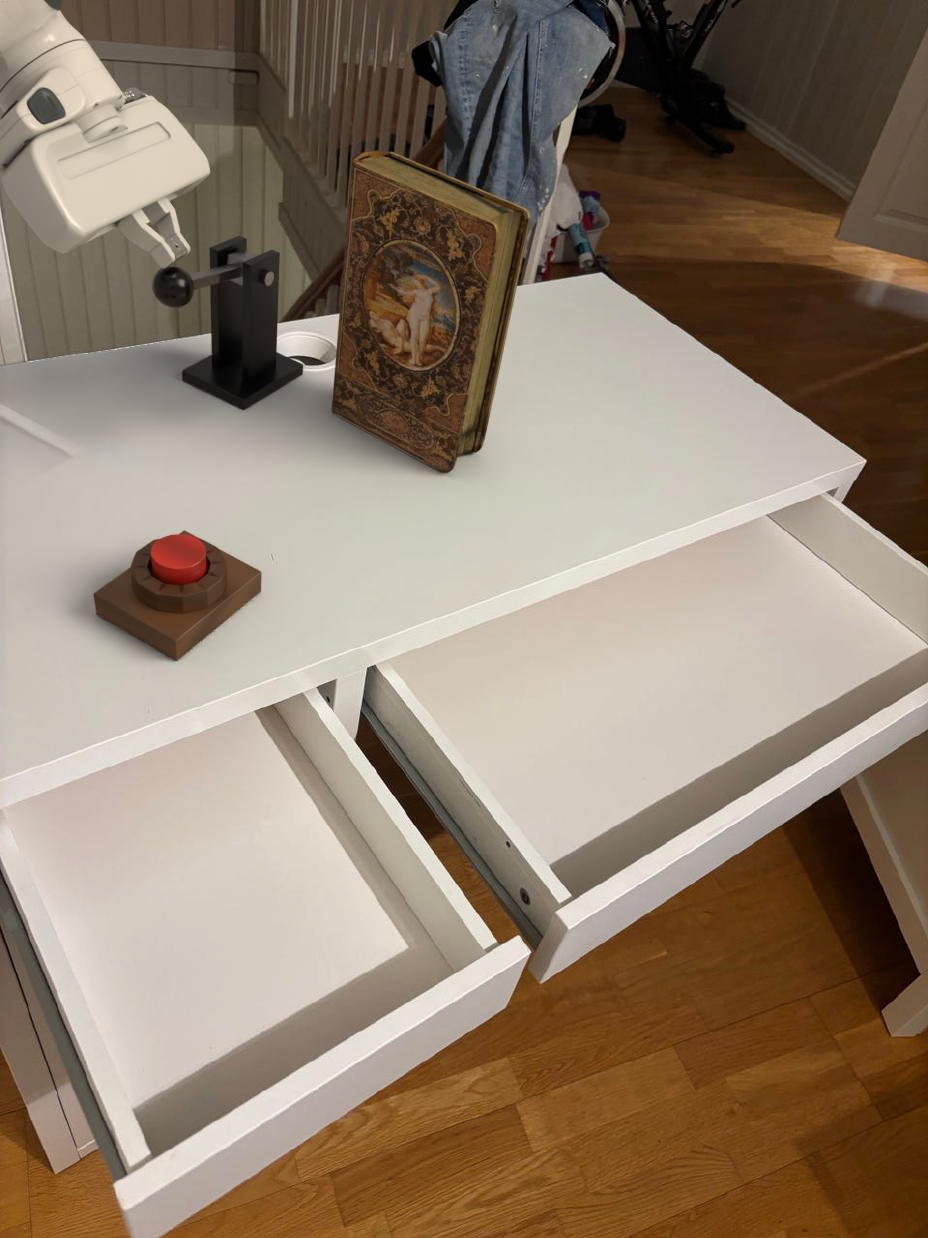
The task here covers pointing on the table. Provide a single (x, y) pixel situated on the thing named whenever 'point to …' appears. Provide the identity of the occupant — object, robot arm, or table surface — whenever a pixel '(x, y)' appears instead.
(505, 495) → the table surface
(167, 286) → the lever
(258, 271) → the bracket
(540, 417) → the table surface
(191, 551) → the button
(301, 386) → the table surface
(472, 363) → the book
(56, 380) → the table surface
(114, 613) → the button block
